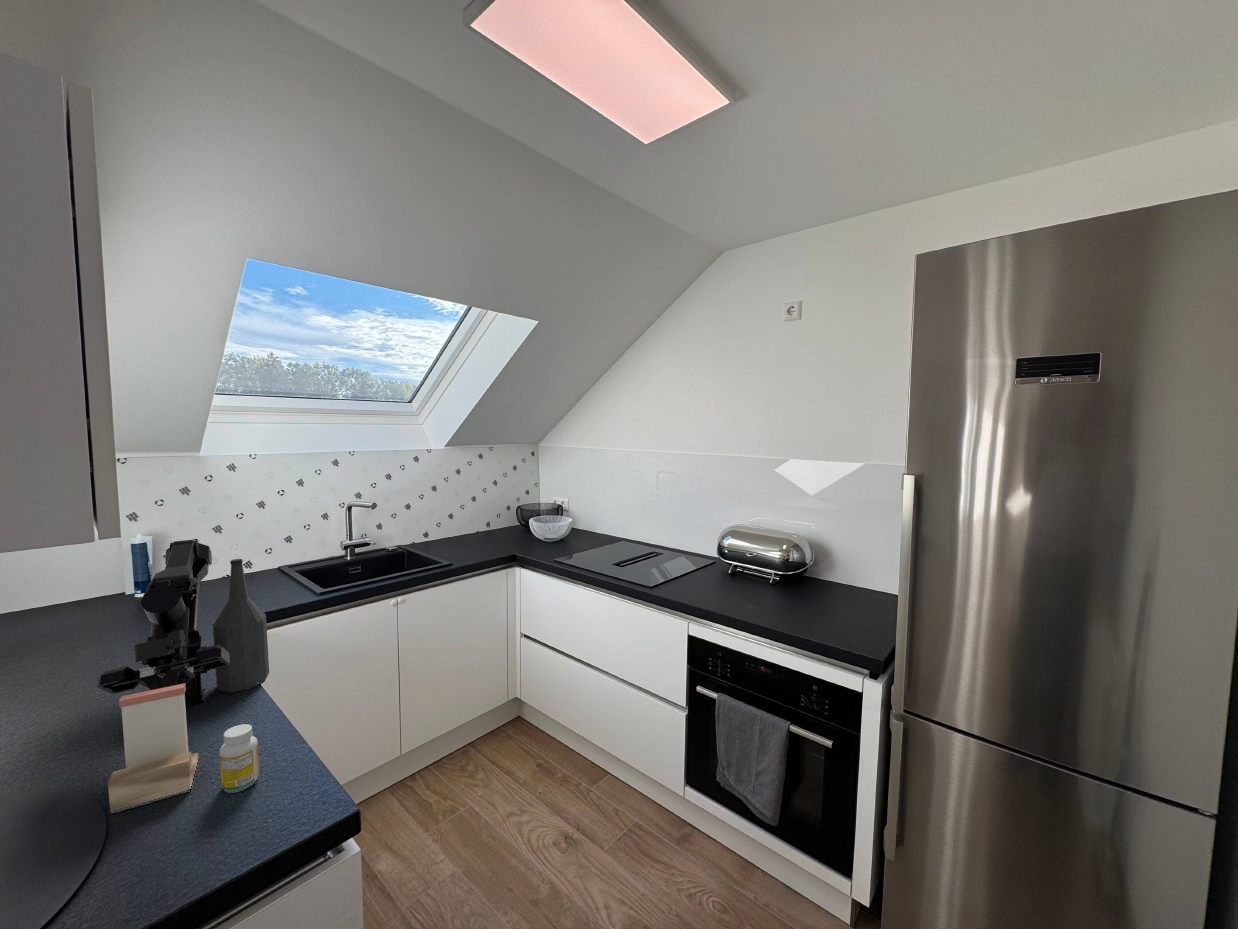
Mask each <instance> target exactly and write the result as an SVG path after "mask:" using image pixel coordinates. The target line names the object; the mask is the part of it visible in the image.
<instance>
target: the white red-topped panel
mask: <svg viewBox="0 0 1238 929" xmlns="http://www.w3.org/2000/svg"><path fill="white" fill-rule="evenodd" d="M185 691H186V685H185V683H184V684H179V685H174V686H170V687H165V688H160V689H155V690H150V689H149V690H145V691H140V692H135V693H132V694H131V693H130V694H126V695H121V696H120V698H119V700H118V703H119V704H118V706H119V708H120V709H121V719H122V720H121V722H122V732H123V734H122V735H123V744H124V745H123V746H124V757H125V758H124V760H125V769H126V768H130V767H133V766H137V765H141V764H145V763H149V762H153V761H157V760H161V759H164V758H168V757H172V756H176V755H180V754H184V753H188V752H189V742H188V740H189V739H188V727H187V712H186V711H187V710H186V706H185Z"/></svg>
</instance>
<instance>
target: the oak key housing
mask: <svg viewBox="0 0 1238 929" xmlns="http://www.w3.org/2000/svg"><path fill="white" fill-rule="evenodd" d="M198 758H199V752H195V753H192V751H188V753H184V754H180V755H176V756H172V757H168V758H164V759H161V760H157V761H153V762H149V763H145V764H141V765H137V766H133V767H130V768H126V767H125V768H122V769H118V770H115V771H113V772H112V773H111V775H110V777H109V779H108V781H107V784H108V785H107V786H108V788H107V789H108V799H109V812H111V811H114V810H118V809H121V808H124V807H129V806H133V805H137V804H140V803H143V802H148V801H150V800H154V799H158V798H161V797H165V796H168V795H172V794H176V793H179V792H182V791H186V790H188V789H191V786H192V787H193V785H192V782H193V783H194V781H193V778H194V779H195V777H194V774H195V775H196V773H195V770H196V771H197V769H196V766H197V767H198V765H197V762H198V763H199V761H198Z"/></svg>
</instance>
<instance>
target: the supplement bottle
mask: <svg viewBox="0 0 1238 929" xmlns="http://www.w3.org/2000/svg"><path fill="white" fill-rule="evenodd" d="M253 734H254V731H253V725H251V724H249V723H248V724H247V723H245V724H238V725H235V726H232V727H230V728H227V729H226V730H225V731H224V732H223V744H222V745H221V747H220V749H219V768H220V769H219V770H220V783H221V784H220V785H221V789H222V788H223V789H225V790H234V789H239V788H242V787H245V786H247V785H248V784H250V783H252V782H254V781H255V780H256V779H257V778H258V776H259V777H260V769H259V768H260V764H259V744H258V739H257V737H255V736H254V735H253Z"/></svg>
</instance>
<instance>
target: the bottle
mask: <svg viewBox="0 0 1238 929" xmlns="http://www.w3.org/2000/svg"><path fill="white" fill-rule="evenodd" d="M243 561H244V559H242V558H234V559H231V560H230V562H229V563H230V576H229V577H230V578H229V592H228V601H227V602H226V604H225V605H224V607H223V609H222V610H221V611H220V613H219V615H218V617H217V618H216V620H215V621H214V623H213V625H212V634H213V635H212V636H213V646H214V645H218V644H219V645H220V646H222V647H223V648H224V649H225V650H226V651H228V652H229V655H230V664H229V665H227V666H224V667H220V668H216V669H215V680H216V683H215V684H216V688H217V689H218V690H219V691H220V692H223V691H228V692H227V693H230V692H233V693H235V692H234V691H239V692H243V691H242V690H245V691H248V690H250V689H253V688H256V687H258V686H261V685H262V684H263V683H265V682H266V680H267V679H268V676H269V674H270V667H269V666H270V665H269V663H270V662H269V660H270V659H269V644H268V642H269V641H268V626H267V625H268V624H267V615H266V613H264V611H263V610H262V609H261V608H260V607H259V606H258V605H257V604H256V603H255V602H254V601H253V600H252V599H251V597H249V593H248V588H247V583H246V576H245V572H244V566H243ZM257 682H258V683H259V684H260V685H258V683H257Z"/></svg>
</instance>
